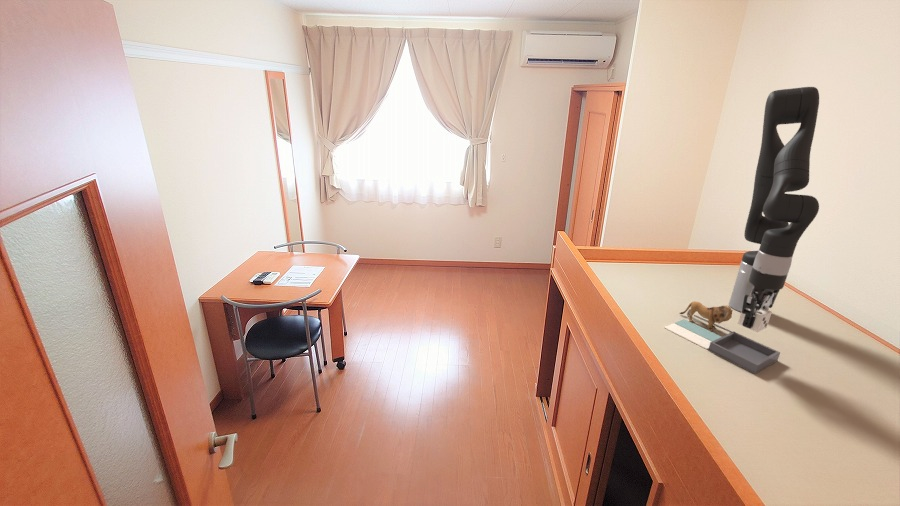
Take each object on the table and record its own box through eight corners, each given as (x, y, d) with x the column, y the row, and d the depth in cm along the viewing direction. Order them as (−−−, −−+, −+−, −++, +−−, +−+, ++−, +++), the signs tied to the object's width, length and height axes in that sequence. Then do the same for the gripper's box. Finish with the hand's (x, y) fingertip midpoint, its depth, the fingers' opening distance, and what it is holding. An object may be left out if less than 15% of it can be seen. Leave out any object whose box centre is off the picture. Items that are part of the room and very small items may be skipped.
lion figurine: (729, 331, 128) (737, 306, 125) (722, 336, 125) (730, 311, 122) (682, 312, 139) (688, 289, 135) (675, 317, 136) (680, 293, 132)
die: (747, 319, 115) (752, 303, 113) (767, 327, 111) (772, 311, 109) (737, 323, 113) (742, 307, 111) (757, 332, 109) (763, 316, 107)
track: (694, 315, 137) (694, 314, 137) (737, 334, 126) (737, 333, 126) (664, 327, 129) (664, 327, 129) (706, 349, 118) (706, 348, 118)
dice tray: (730, 339, 123) (733, 331, 122) (777, 360, 113) (780, 352, 112) (708, 350, 117) (710, 342, 116) (754, 374, 107) (757, 365, 106)
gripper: (767, 259, 112) (750, 312, 118) (740, 268, 105) (724, 324, 111) (799, 268, 106) (780, 324, 112) (773, 279, 99) (753, 337, 105)
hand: (752, 324), depth 112 cm, fingers closed on die, 5 cm apart
